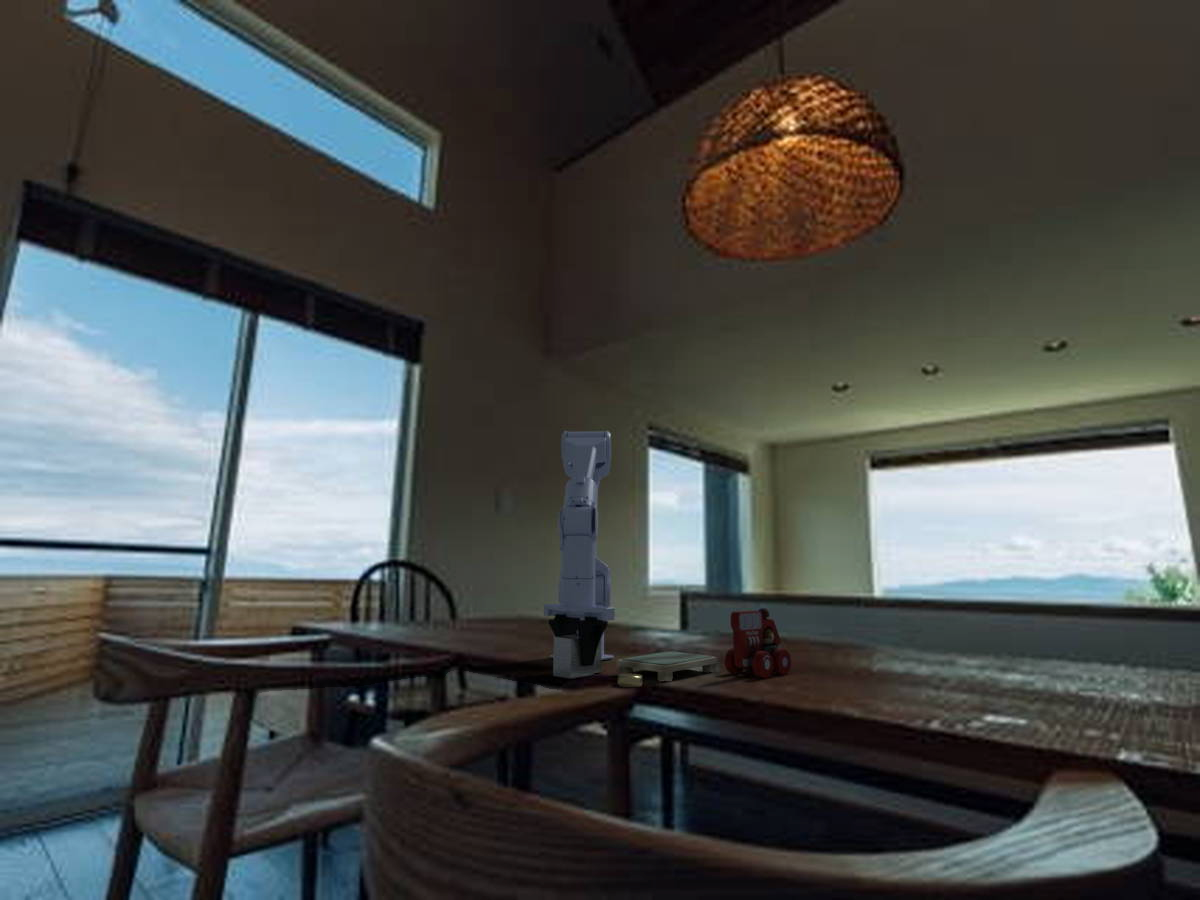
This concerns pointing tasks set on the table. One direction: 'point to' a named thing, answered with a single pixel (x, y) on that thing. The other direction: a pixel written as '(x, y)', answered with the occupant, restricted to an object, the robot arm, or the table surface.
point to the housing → (572, 658)
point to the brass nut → (630, 680)
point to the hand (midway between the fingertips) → (577, 664)
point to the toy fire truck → (756, 645)
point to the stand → (667, 663)
